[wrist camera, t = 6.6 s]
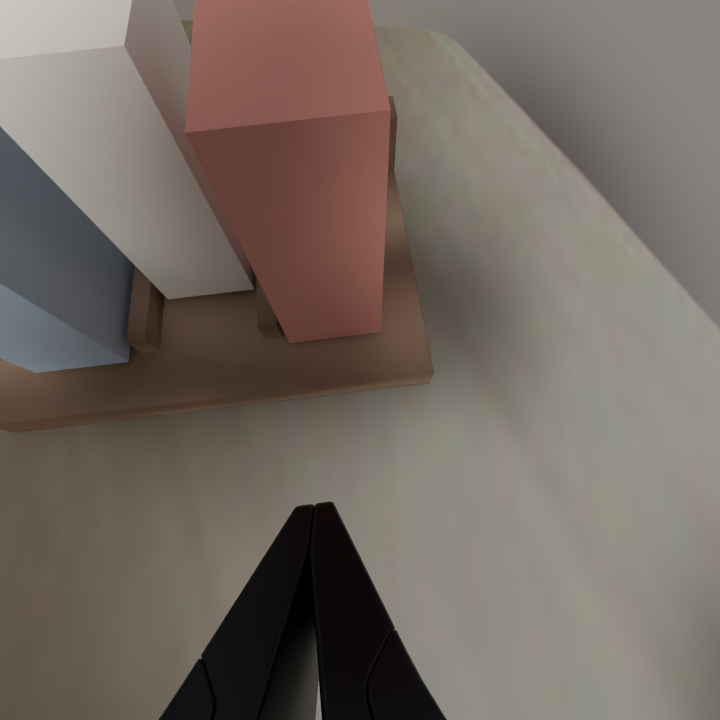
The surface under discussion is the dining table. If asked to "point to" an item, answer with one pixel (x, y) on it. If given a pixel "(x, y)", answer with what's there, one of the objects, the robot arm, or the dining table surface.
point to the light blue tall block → (56, 275)
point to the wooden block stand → (229, 351)
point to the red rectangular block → (297, 152)
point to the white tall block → (119, 133)
